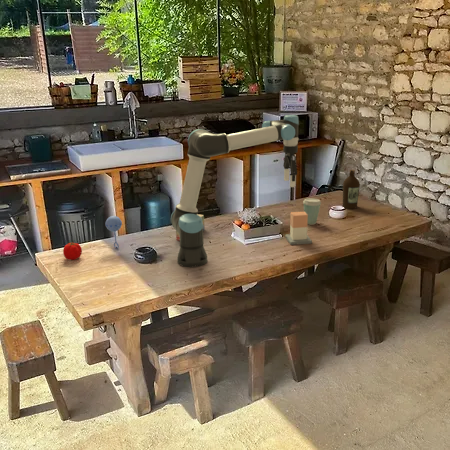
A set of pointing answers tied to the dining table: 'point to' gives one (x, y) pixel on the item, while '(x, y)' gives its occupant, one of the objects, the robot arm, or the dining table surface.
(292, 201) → the dining table surface
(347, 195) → the olive oil
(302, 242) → the slate pad
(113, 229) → the baby rattle
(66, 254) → the tomato
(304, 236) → the cream brick
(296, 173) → the robot arm
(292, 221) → the terracotta brick
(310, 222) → the disposable coffee cup
